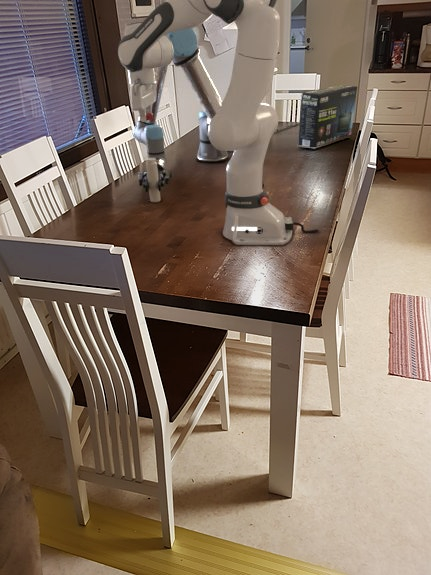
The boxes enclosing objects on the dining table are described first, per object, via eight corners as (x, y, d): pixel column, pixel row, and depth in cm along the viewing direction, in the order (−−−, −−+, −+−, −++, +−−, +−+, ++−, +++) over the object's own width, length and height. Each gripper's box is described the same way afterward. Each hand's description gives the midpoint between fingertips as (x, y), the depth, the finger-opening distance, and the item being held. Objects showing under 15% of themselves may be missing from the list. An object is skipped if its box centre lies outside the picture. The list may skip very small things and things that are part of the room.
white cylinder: (156, 202, 177) (152, 160, 168) (148, 201, 178) (143, 159, 170) (162, 199, 180) (158, 157, 171) (153, 197, 181) (149, 156, 173)
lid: (139, 118, 165) (138, 113, 164) (152, 117, 166) (152, 112, 165) (139, 120, 161) (139, 115, 160) (153, 119, 161) (153, 114, 161)
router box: (314, 151, 231) (318, 94, 217) (296, 148, 237) (299, 92, 224) (352, 138, 251) (358, 85, 238) (335, 135, 258) (340, 83, 245)
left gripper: (177, 177, 193) (176, 196, 173) (136, 179, 193) (130, 199, 172) (176, 159, 189) (175, 177, 169) (134, 161, 189) (128, 179, 169)
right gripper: (142, 81, 147) (147, 125, 154) (157, 73, 164) (161, 114, 171) (123, 81, 148) (129, 126, 155) (140, 74, 165) (145, 114, 172)
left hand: (152, 188), depth 171 cm, fingers closed on white cylinder, 4 cm apart
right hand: (146, 119), depth 163 cm, fingers closed on lid, 5 cm apart
